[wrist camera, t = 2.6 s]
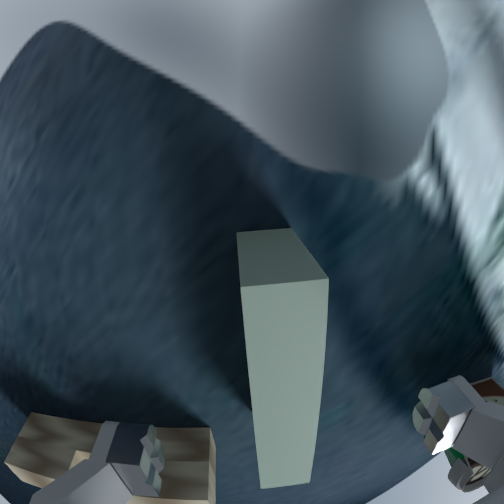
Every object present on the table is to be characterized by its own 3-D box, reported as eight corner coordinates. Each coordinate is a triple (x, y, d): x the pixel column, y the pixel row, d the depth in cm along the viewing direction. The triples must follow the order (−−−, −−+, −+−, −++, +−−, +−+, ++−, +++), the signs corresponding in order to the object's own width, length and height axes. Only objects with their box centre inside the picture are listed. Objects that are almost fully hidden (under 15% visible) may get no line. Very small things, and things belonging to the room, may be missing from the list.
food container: (396, 438, 25) (432, 512, 15) (418, 396, 23) (468, 476, 13) (476, 413, 26) (515, 466, 16) (499, 373, 24) (547, 427, 14)
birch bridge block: (44, 431, 22) (21, 480, 15) (31, 411, 21) (4, 462, 14) (215, 447, 23) (215, 515, 16) (210, 427, 22) (208, 500, 15)
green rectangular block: (236, 232, 17) (240, 286, 10) (291, 228, 17) (328, 278, 10) (253, 412, 21) (261, 488, 15) (292, 408, 22) (309, 482, 15)
